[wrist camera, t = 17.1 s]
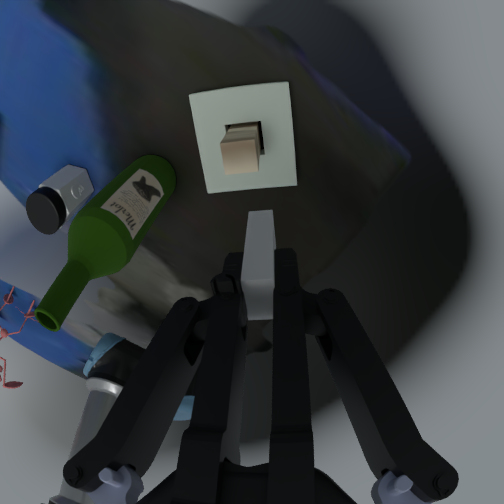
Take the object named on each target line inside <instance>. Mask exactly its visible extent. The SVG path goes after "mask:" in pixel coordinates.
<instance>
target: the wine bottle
mask: <svg viewBox="0 0 504 504" xmlns="http://www.w3.org/2000/svg"><path fill="white" fill-rule="evenodd" d="M175 186H176V175H175V171H174V169H173V168H172V166H171V165H170V163H169V162H168V161H167V160H165V159H164V158H162V157H159V156H156V155H145V156H142V157H140V158H138V159H137V160H135V161H134V162H133V163H132V164H131V165H129V166H128V167H127V168H126V169H125V170H123V171H122V172H121V173H120V174H119V175H118V176H117V177H115V178H114V179H113V180H112V181H111V182H110V183H109V184H108V185H107V186H105V187H104V188H103V189H102V190H101V191H100V192H99V193H98V194H97V195H96V196H95V197H94V198H93V199H92V200H90V201H89V202H88V203H87V204H86V205H85V206H84V207H83V208H82V209H81V210H80V211H79V212H78V214H77V215H76V216H75V218H74V219H73V221H72V223H71V225H70V228H69V232H68V262H67V264H66V265H65V267H64V268H63V269H62V271H61V272H60V274H59V275H58V277H57V278H56V280H55V281H54V283H53V284H52V285H51V287H50V289H49V290H48V291H47V293H46V295H45V296H44V298H43V299H42V301H41V302H40V304H39V305H38V307H37V308H36V309H35V311H34V314H35V317H36V319H37V320H38V322H39V323H40V324H41V325H42V326H43V327H45V328H46V329H48V330H51V331H54V332H56V331H58V330H60V327H61V325H62V323H63V321H64V320H65V318H66V316H67V315H68V313H69V311H70V310H71V308H72V307H73V305H74V303H75V302H76V300H77V298H78V297H79V295H80V294H81V292H82V291H83V289H84V288H85V286H86V285H87V283H88V281H90V280H91V279H95V278H99V277H103V276H106V275H110V274H113V273H116V272H118V271H120V270H121V269H122V268H123V267H124V266H125V265H126V264H127V263H129V262H130V260H131V258H132V256H133V255H134V253H135V251H136V250H137V248H138V246H139V245H140V243H141V241H142V240H143V238H144V236H145V235H146V233H147V232H148V230H149V228H150V227H151V225H152V224H153V222H154V220H155V219H156V217H157V216H158V214H159V213H160V211H161V210H162V208H163V207H164V205H165V203H166V202H167V200H168V199H169V197H170V196H171V194H172V193H173V191H174V189H175Z"/></svg>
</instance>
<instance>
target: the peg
mask: <svg viewBox="0 0 504 504" xmlns="http://www.w3.org/2000/svg"><path fill="white" fill-rule="evenodd" d="M220 148H221V153H222V159H223V165H224V171H225V175H230V174H240V173H249V172H259V160H260V152H261V150H260V149H261V144H260V135H259V127H258V122H248V123H240V124H232V125H231V126H230V128H229V130H228V131H227V133H226V134H225V136H224V138H223V139H222V141H221V143H220Z"/></svg>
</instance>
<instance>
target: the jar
mask: <svg viewBox="0 0 504 504" xmlns="http://www.w3.org/2000/svg"><path fill="white" fill-rule="evenodd" d="M93 191H94V188H93V186H92V183H91V181H90V178H89V176H88V173H87V170H86V169H83V168H80V167H76V166H72V165H69V164H68V165H67V166H65V167H64V168H62V169H61V170H59V171H58V172H56V173H55V174H54V175H52V176H51V177H49V178H48V179H47V180H45V181H44V182H43V183H41V184H40V186H39V188H38V189H37V190H36V191H34V192H33V193H32V194H31V195H30V196H29V197H28V199H27V202H26V211H27V215H28V218H29V220H30V221H31V223H32V225H33V226H34V227H35V228H36V229H37V230H38V231H40V232H41V233H44V234H53V233H55V232H56V231H57V230H58V229H59V228H61V227H62V226H63V225H64V224H65V223H66V222H67V221H68V220H69V219H70V218H71V217H72V216H73V215H74V214H75V213H76V212H77V211H78V210H79V209H80V208H81V207H82V206H83V205H84V204H85V203H86V201H87V200H88V198H89V197H90V195H91V194H92V193H93Z"/></svg>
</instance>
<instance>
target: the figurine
mask: <svg viewBox="0 0 504 504" xmlns="http://www.w3.org/2000/svg"><path fill="white" fill-rule="evenodd" d="M13 289H14V286H13V288H12V290H11V292H10V294H6V295H4V302H5V304H6V303H7V304H11V303H12V302H13V296H12V291H13ZM34 302H35V301H34V300H33V302H32V304H31V307H30V309H29V311H28V313H26V314H25V315H24V316H25V317H27V318H30V317H33V316H35V314H34V312H30V311H31V308H32V306H33V304H34ZM5 304H4V305H3V306H2V307H1V309H2V308H3V307H4V306H5ZM1 309H0V310H1ZM22 313H23V312H22ZM23 314H24V313H23ZM27 318H26V319H25V321H24V323H25V322H26V320H27ZM31 319H32V318H31ZM35 321H36V320H35ZM37 322H38V321H37ZM24 323H23V325H24ZM38 323H39V322H38ZM23 325H22V327H23ZM22 327H21V329H22ZM0 328H1V326H0ZM21 329H20V331H21ZM20 331H19V332H20ZM19 332H14V333H10V334H8V332H7V330H6V329H2V328H1V335H2V337H1V338H0V340H1V339H2V338H3V337H7V336H8V335H11V334H15V333H19ZM0 359H2V360H4V361H6V360H5V359H3V358H2V357H0ZM2 369H3V368H2V367H1V366H0V372H2ZM5 369H6V362H4V380H3V387H5V388H18V387H20V386H21V385H22V384H23V383H22V382H16V381H13V382H7V383H5ZM1 380H2V379H1V376H0V381H1Z"/></svg>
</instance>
